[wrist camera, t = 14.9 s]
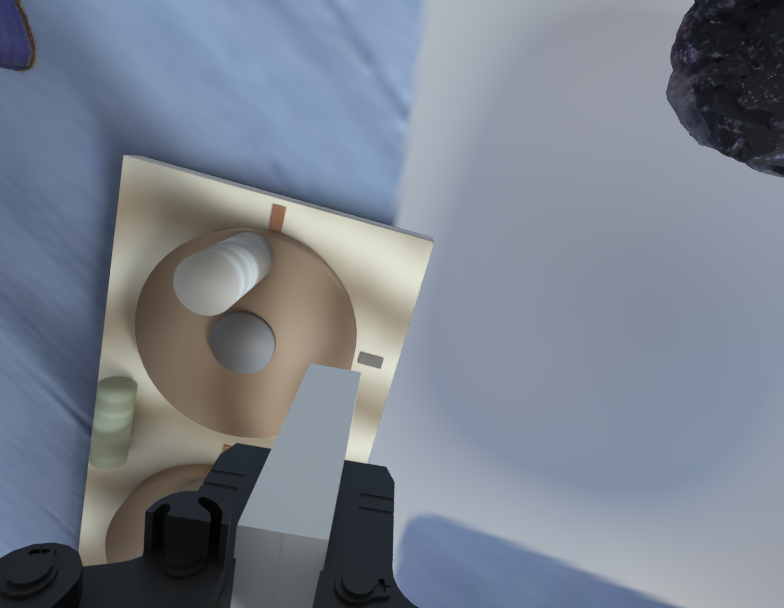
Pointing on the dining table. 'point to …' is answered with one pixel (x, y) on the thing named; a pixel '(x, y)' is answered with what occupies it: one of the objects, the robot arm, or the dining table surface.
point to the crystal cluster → (732, 79)
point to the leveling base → (179, 225)
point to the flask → (16, 38)
